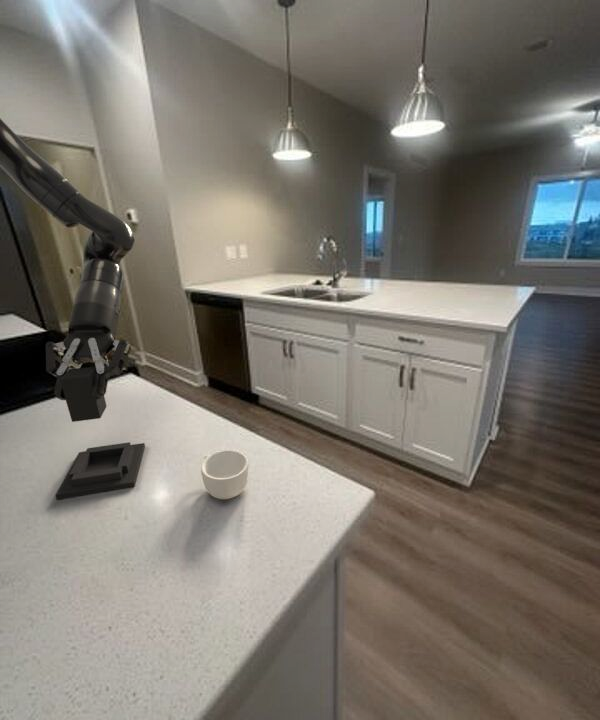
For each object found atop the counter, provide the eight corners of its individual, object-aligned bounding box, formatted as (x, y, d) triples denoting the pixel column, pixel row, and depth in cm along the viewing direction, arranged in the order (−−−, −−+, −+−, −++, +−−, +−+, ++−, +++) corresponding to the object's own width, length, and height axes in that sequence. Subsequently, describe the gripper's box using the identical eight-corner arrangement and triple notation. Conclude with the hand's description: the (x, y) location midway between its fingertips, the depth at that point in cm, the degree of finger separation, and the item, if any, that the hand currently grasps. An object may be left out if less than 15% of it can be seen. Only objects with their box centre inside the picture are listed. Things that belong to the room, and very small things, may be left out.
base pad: (56, 500, 57) (52, 488, 56) (80, 456, 68) (77, 445, 67) (134, 486, 60) (132, 475, 59) (145, 446, 71) (143, 436, 70)
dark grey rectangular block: (71, 422, 58) (59, 379, 55) (80, 409, 62) (69, 369, 59) (100, 418, 59) (89, 376, 56) (106, 406, 63) (97, 366, 60)
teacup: (259, 488, 59) (257, 462, 57) (222, 514, 54) (219, 487, 52) (224, 463, 65) (221, 439, 64) (188, 484, 60) (184, 459, 58)
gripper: (43, 301, 60) (18, 393, 54) (128, 299, 61) (113, 389, 55) (67, 322, 67) (48, 406, 60) (143, 320, 68) (132, 402, 61)
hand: (79, 397), depth 58 cm, fingers closed on dark grey rectangular block, 5 cm apart
